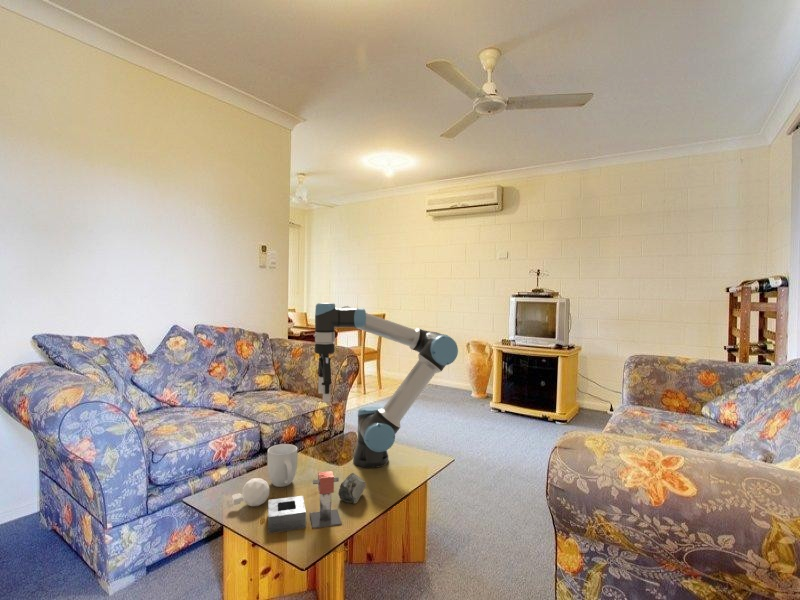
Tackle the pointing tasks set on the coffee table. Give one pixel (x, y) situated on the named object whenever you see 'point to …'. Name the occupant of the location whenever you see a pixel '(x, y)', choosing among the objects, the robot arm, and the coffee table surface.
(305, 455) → the coffee table surface
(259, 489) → the perfume bottle
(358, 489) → the stone
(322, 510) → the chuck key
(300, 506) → the block
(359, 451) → the robot arm
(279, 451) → the mug
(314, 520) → the mat
